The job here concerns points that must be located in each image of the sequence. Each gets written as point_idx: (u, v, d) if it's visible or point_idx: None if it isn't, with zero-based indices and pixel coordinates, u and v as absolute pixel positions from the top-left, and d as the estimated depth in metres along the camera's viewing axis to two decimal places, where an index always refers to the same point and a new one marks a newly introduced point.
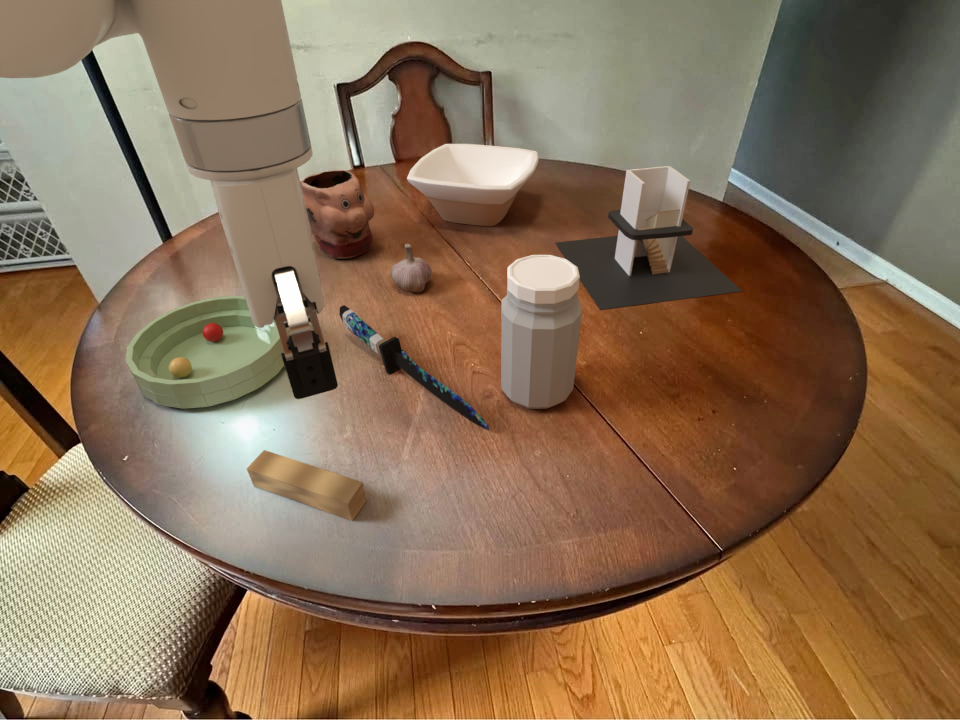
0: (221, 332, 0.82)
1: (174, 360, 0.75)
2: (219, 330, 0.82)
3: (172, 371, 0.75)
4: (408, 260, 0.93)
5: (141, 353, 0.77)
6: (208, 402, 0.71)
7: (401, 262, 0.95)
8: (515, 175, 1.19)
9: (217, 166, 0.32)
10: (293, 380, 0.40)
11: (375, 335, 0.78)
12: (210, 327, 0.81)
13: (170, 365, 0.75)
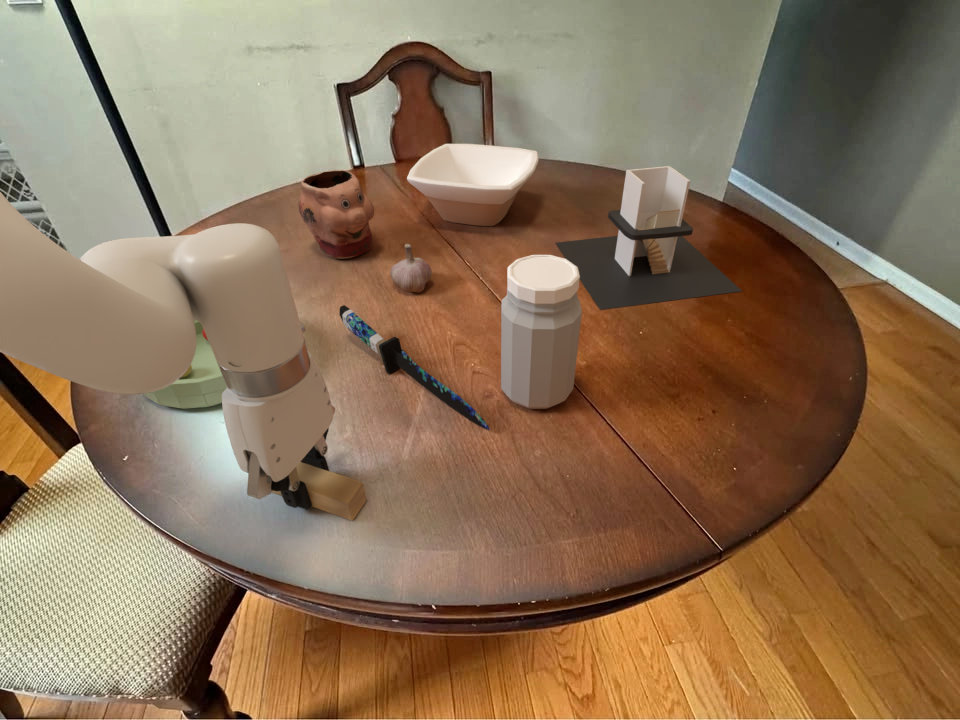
0: None
1: None
2: None
3: None
4: (408, 260, 0.93)
5: None
6: (208, 402, 0.71)
7: (401, 262, 0.95)
8: (515, 175, 1.19)
9: (226, 383, 0.49)
10: None
11: (375, 335, 0.78)
12: None
13: None
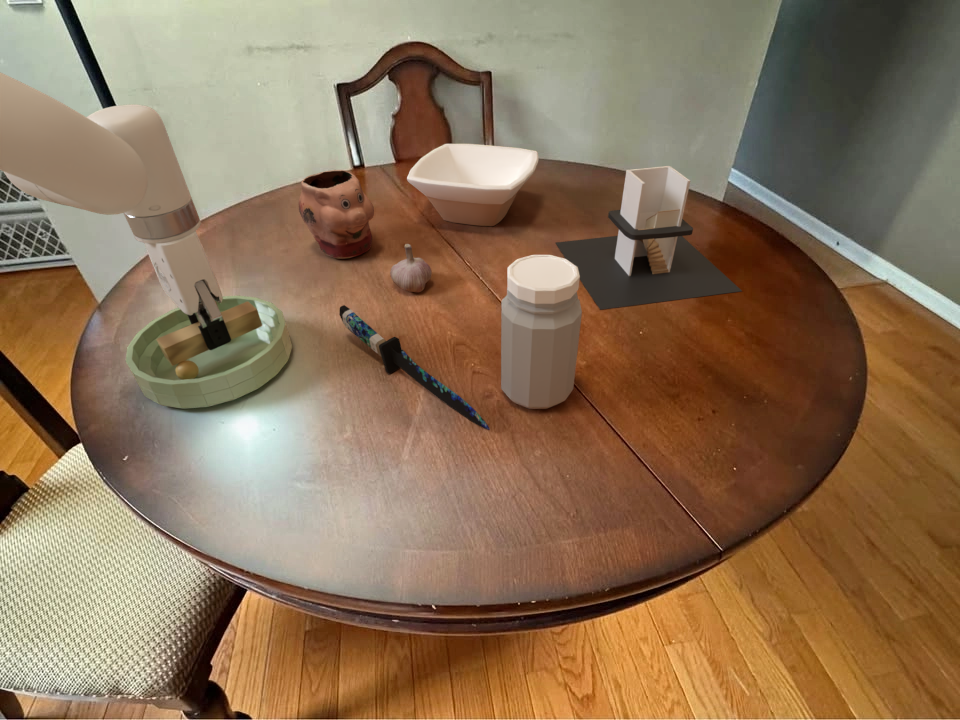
0: None
1: (188, 368, 0.74)
2: None
3: (180, 377, 0.75)
4: (408, 260, 0.93)
5: (141, 353, 0.77)
6: (208, 402, 0.71)
7: (401, 262, 0.95)
8: (515, 175, 1.19)
9: (158, 236, 0.64)
10: (207, 339, 0.75)
11: (375, 335, 0.78)
12: None
13: (182, 371, 0.74)
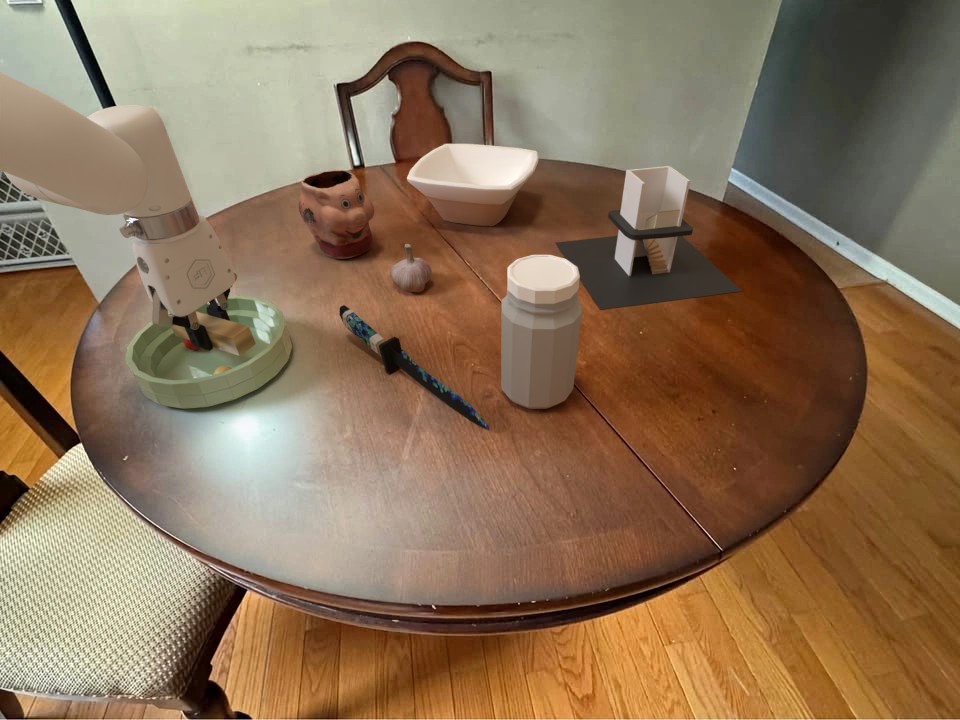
0: None
1: None
2: (188, 344, 0.80)
3: None
4: (408, 260, 0.93)
5: (141, 353, 0.77)
6: (208, 402, 0.71)
7: (401, 262, 0.95)
8: (515, 175, 1.19)
9: (198, 215, 0.69)
10: None
11: (375, 335, 0.78)
12: None
13: None
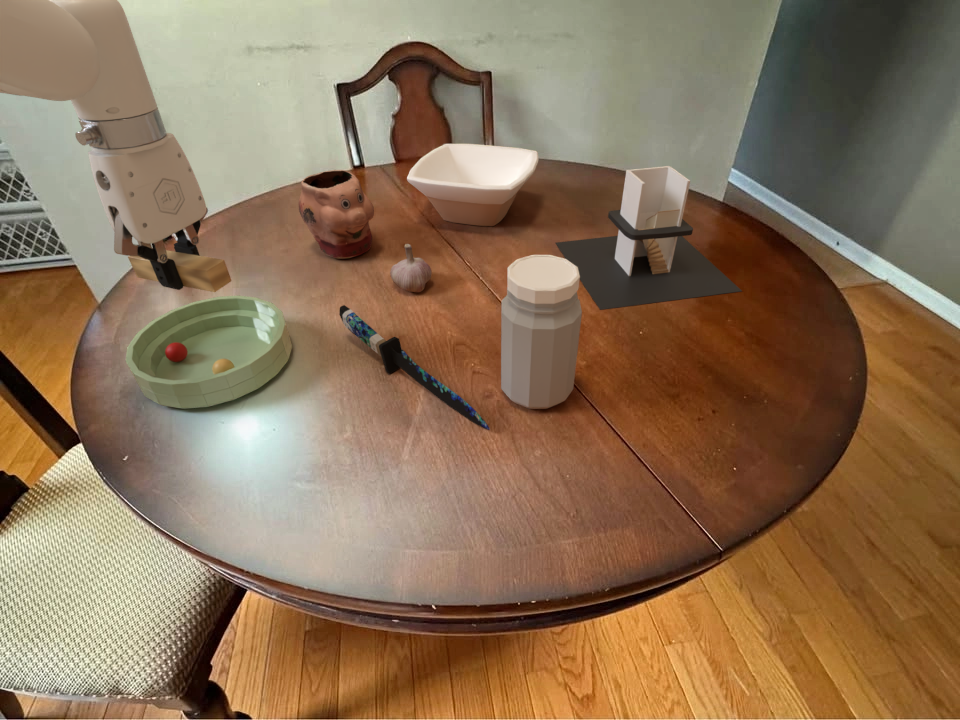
0: None
1: None
2: None
3: (216, 362, 0.75)
4: (408, 260, 0.93)
5: (141, 353, 0.77)
6: (208, 402, 0.71)
7: (401, 262, 0.95)
8: (515, 175, 1.19)
9: None
10: None
11: (375, 335, 0.78)
12: None
13: (212, 367, 0.75)
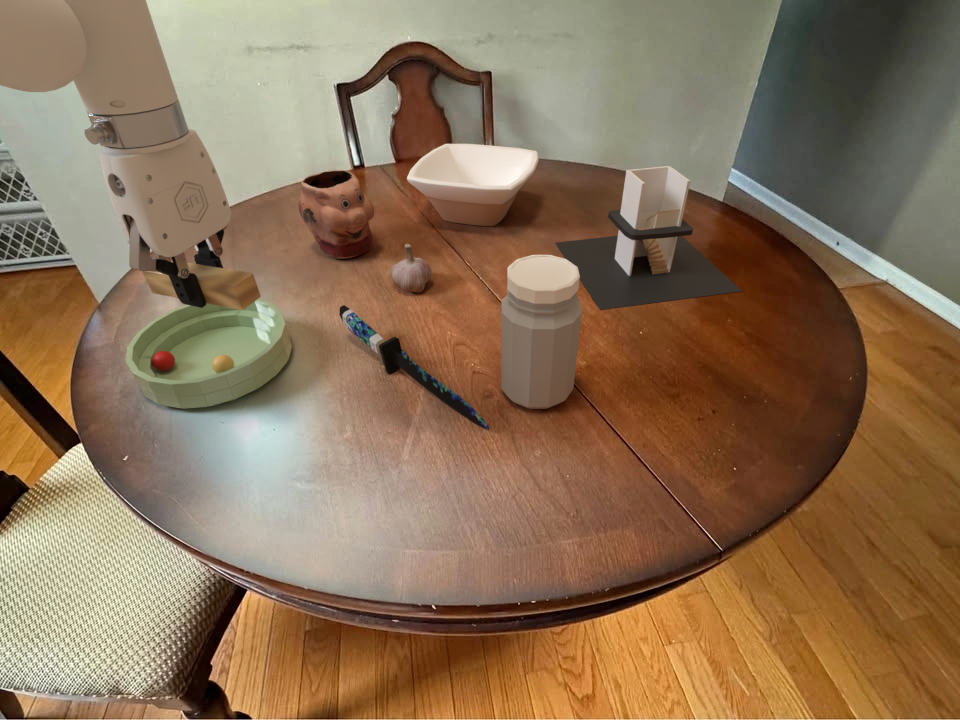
0: None
1: None
2: None
3: None
4: (408, 260, 0.93)
5: (141, 353, 0.77)
6: (208, 402, 0.71)
7: (401, 262, 0.95)
8: (515, 175, 1.19)
9: None
10: None
11: (375, 335, 0.78)
12: (162, 351, 0.77)
13: None
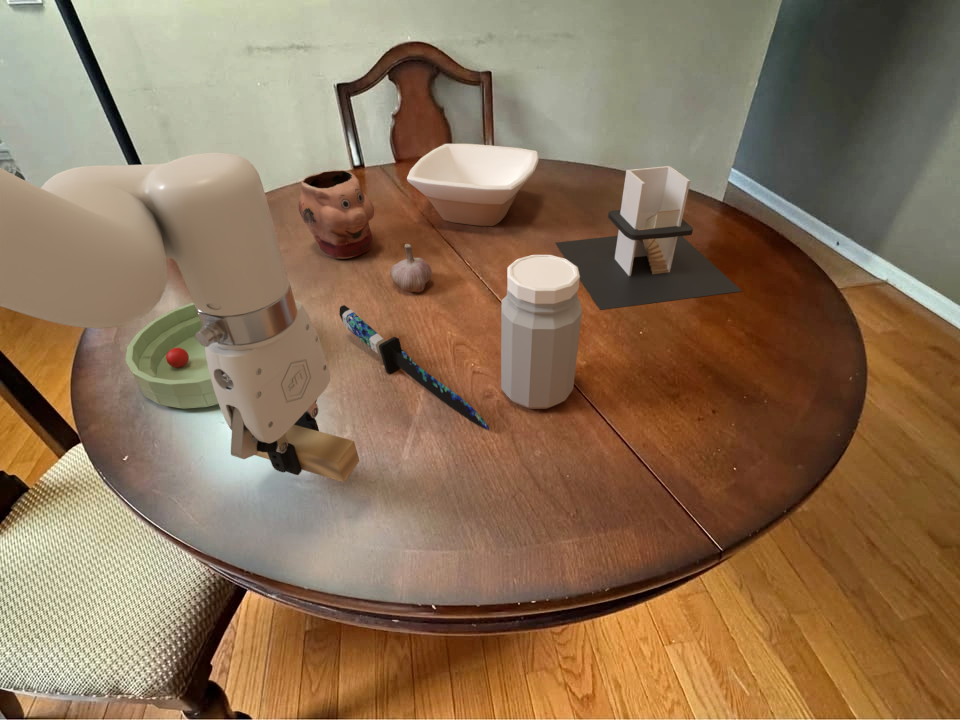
0: None
1: None
2: None
3: None
4: (408, 260, 0.93)
5: (141, 353, 0.77)
6: (208, 402, 0.71)
7: (401, 262, 0.95)
8: (515, 175, 1.19)
9: None
10: None
11: (375, 335, 0.78)
12: (187, 353, 0.78)
13: None
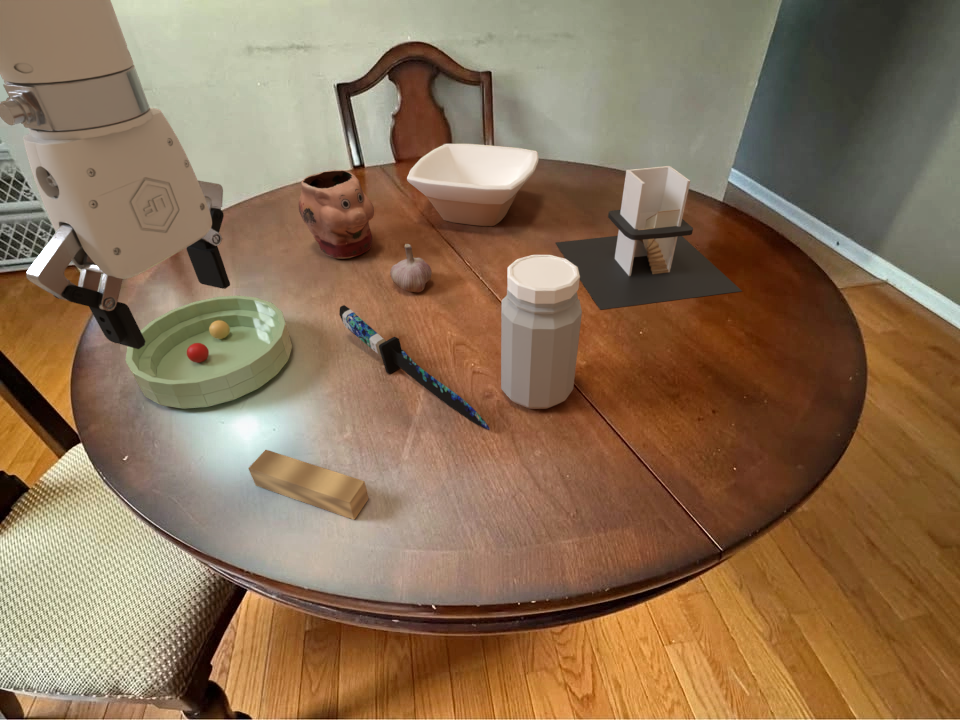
0: None
1: None
2: None
3: None
4: (408, 260, 0.93)
5: (141, 353, 0.77)
6: (208, 402, 0.71)
7: (401, 262, 0.95)
8: (515, 175, 1.19)
9: (146, 101, 0.40)
10: None
11: (375, 335, 0.78)
12: None
13: None
